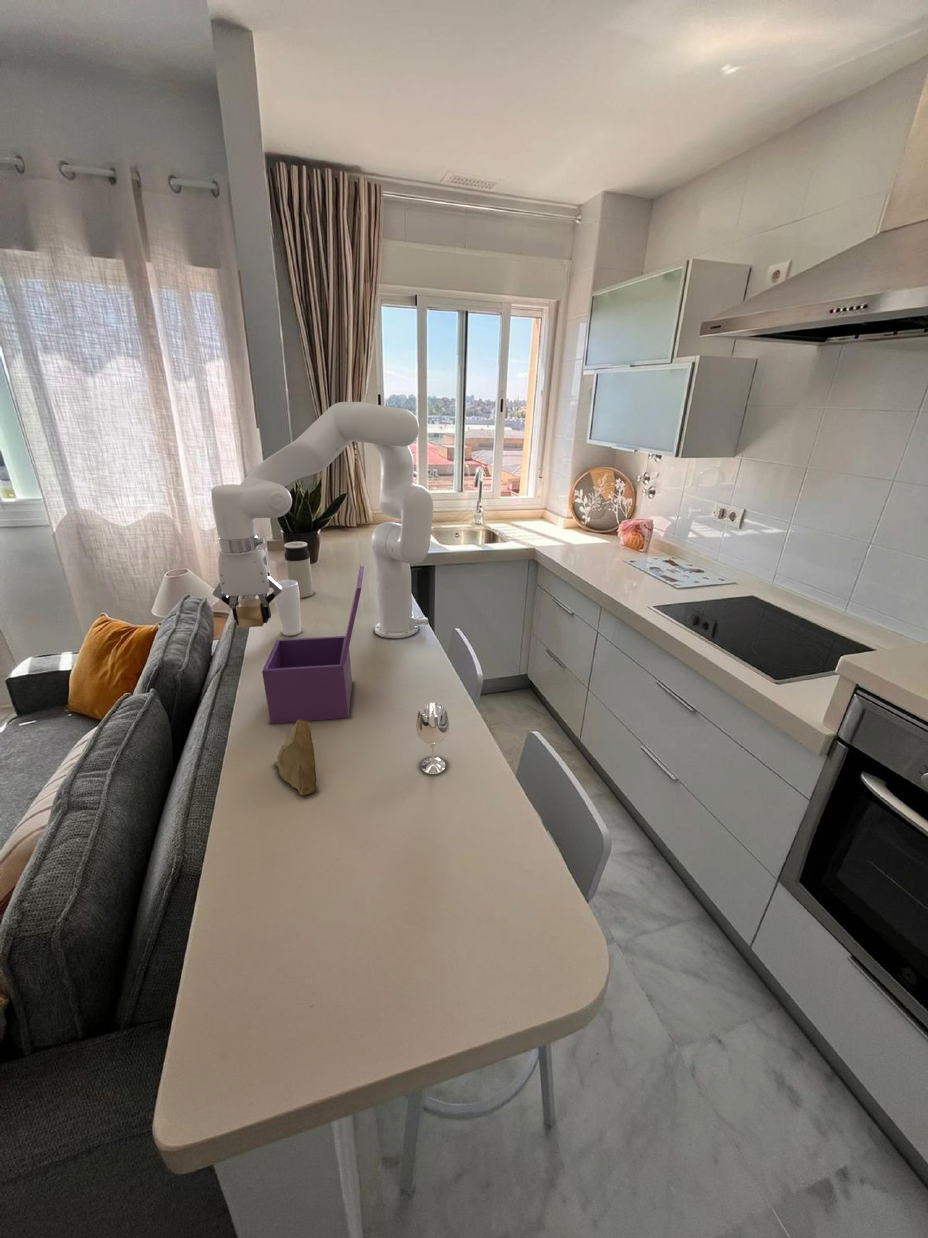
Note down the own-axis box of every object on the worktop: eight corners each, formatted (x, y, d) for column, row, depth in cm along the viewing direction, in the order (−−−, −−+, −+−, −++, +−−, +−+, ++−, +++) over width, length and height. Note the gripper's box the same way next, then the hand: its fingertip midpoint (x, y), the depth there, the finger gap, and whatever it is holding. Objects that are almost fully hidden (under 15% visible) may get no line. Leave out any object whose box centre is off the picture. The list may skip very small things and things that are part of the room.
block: (267, 617, 116) (263, 597, 114) (262, 626, 112) (259, 605, 110) (245, 619, 116) (241, 599, 114) (239, 627, 111) (235, 607, 109)
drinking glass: (296, 638, 139) (290, 588, 134) (274, 636, 141) (267, 586, 135) (308, 629, 146) (302, 580, 140) (287, 627, 147) (280, 578, 141)
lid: (357, 587, 93) (361, 588, 93) (360, 565, 106) (363, 566, 107) (341, 663, 99) (345, 664, 99) (346, 633, 112) (349, 634, 112)
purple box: (270, 723, 101) (261, 670, 97) (283, 687, 115) (276, 639, 110) (348, 718, 104) (343, 665, 99) (352, 683, 117) (348, 635, 112)
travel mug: (309, 598, 169) (303, 547, 162) (286, 598, 169) (279, 546, 162) (316, 590, 176) (310, 541, 170) (294, 590, 177) (287, 541, 170)
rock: (330, 785, 81) (336, 741, 90) (292, 757, 77) (301, 715, 86) (282, 816, 84) (292, 770, 92) (242, 791, 80) (256, 746, 88)
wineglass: (453, 759, 91) (453, 704, 87) (442, 779, 86) (441, 722, 82) (424, 753, 93) (423, 698, 89) (412, 772, 88) (410, 715, 83)
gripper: (283, 538, 111) (294, 613, 118) (203, 541, 109) (219, 617, 116) (277, 547, 104) (289, 625, 111) (191, 550, 102) (209, 630, 109)
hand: (253, 620), depth 114 cm, fingers closed on block, 5 cm apart
